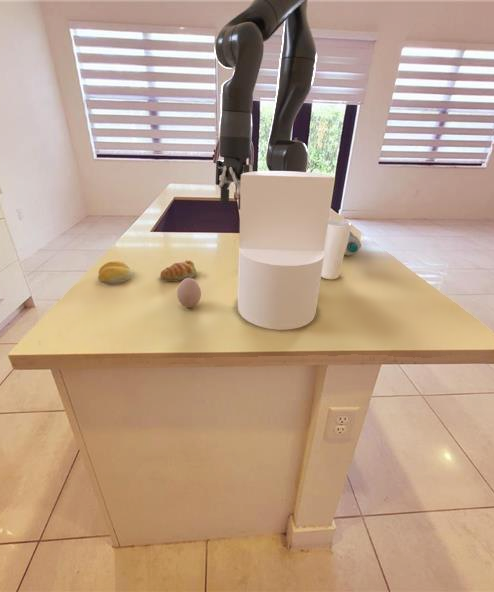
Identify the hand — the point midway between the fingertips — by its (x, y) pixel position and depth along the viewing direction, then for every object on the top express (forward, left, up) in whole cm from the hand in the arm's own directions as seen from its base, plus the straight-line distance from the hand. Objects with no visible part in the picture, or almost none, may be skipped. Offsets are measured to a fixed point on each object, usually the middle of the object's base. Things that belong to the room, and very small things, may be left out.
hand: (233, 206), depth 80 cm
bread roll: (+29, -13, -18) cm, 36 cm away
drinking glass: (-21, +16, -18) cm, 33 cm away
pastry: (+14, -5, -18) cm, 23 cm away
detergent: (-44, +1, -18) cm, 48 cm away
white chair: (+3, +22, -18) cm, 29 cm away
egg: (+19, +11, -18) cm, 29 cm away
